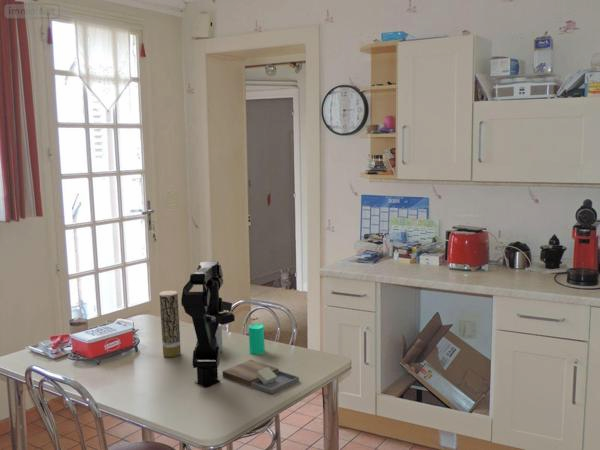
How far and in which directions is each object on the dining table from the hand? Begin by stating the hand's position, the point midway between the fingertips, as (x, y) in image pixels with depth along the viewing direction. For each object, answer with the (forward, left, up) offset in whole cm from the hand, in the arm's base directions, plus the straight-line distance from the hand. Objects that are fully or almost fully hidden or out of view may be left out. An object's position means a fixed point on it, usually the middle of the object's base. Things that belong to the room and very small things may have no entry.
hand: (212, 337), depth 229 cm
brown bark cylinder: (-1, +24, -12) cm, 27 cm away
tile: (+3, -23, -11) cm, 26 cm away
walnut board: (+4, -15, -12) cm, 20 cm away
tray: (+4, -27, -12) cm, 30 cm away
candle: (+22, 0, -12) cm, 25 cm away
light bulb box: (+13, +17, -12) cm, 25 cm away
